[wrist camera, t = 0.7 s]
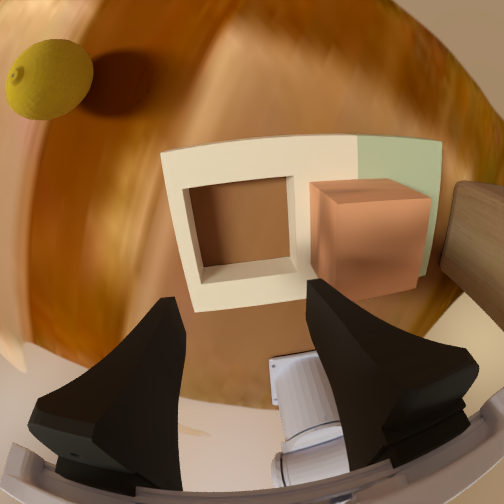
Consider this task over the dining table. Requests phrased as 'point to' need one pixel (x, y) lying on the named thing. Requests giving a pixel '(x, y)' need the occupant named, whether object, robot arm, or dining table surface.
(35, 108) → the lemon
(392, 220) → the block
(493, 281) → the wooden block
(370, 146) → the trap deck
